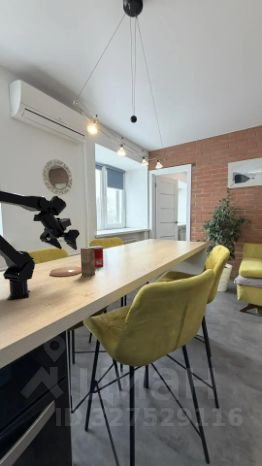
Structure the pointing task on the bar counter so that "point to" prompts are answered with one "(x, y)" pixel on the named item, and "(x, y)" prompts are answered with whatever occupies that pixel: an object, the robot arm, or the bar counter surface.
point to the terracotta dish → (65, 271)
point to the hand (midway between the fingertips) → (68, 249)
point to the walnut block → (87, 261)
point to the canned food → (98, 255)
